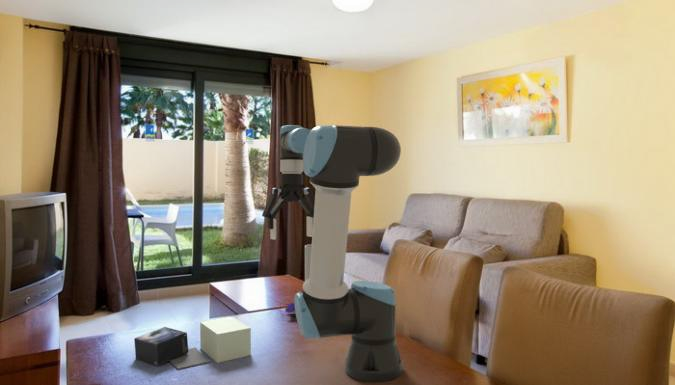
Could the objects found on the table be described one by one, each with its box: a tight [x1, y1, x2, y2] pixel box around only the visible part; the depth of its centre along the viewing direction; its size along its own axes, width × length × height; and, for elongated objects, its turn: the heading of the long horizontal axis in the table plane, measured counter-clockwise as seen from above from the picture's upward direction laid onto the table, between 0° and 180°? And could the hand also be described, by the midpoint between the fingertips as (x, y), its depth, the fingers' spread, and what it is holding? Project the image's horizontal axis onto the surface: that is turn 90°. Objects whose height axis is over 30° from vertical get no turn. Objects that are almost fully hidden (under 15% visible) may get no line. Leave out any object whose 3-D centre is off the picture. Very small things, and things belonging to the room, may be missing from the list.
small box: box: [134, 326, 189, 367], centre depth 139 cm, size 11×6×10 cm
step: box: [199, 316, 252, 364], centre depth 143 cm, size 14×10×8 cm
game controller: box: [279, 299, 295, 316], centre depth 180 cm, size 10×8×10 cm
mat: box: [169, 347, 211, 371], centre depth 138 cm, size 13×9×1 cm
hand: (291, 237), depth 160 cm, fingers open, 13 cm apart
